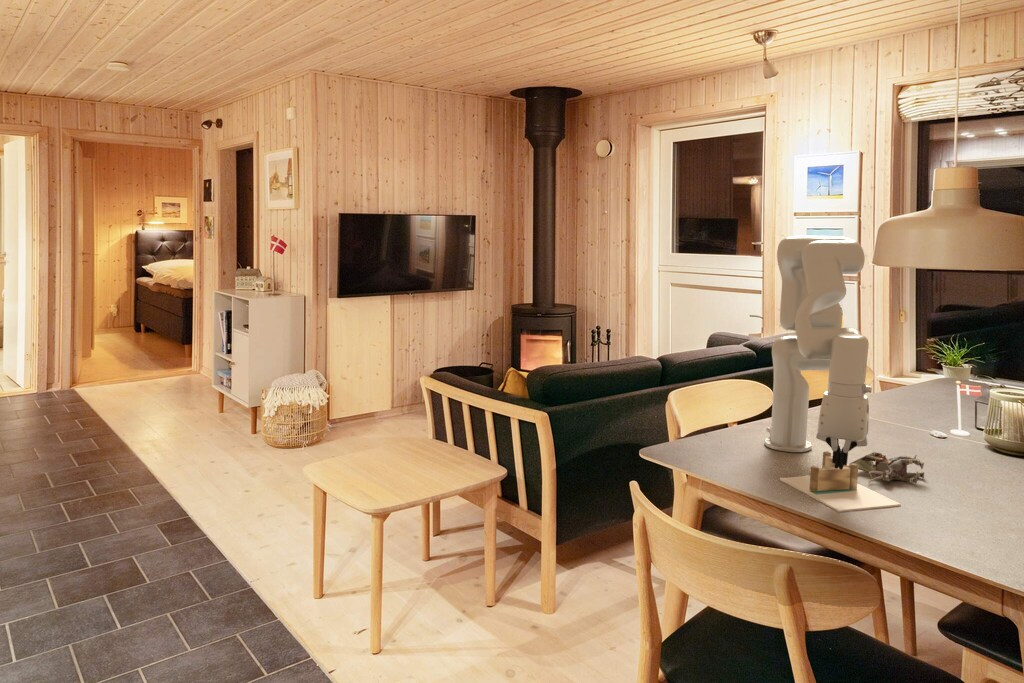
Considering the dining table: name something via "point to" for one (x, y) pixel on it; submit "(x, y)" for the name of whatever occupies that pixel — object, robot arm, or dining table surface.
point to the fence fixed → (854, 467)
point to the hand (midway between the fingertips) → (839, 466)
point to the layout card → (842, 496)
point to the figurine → (889, 467)
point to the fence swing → (829, 478)
